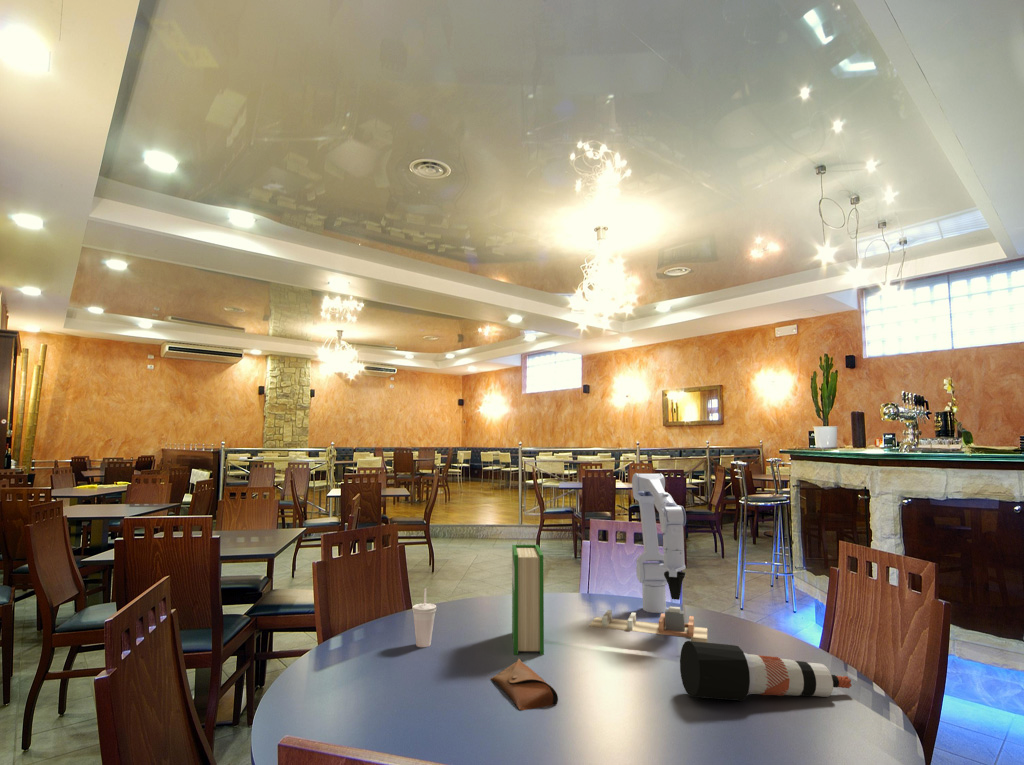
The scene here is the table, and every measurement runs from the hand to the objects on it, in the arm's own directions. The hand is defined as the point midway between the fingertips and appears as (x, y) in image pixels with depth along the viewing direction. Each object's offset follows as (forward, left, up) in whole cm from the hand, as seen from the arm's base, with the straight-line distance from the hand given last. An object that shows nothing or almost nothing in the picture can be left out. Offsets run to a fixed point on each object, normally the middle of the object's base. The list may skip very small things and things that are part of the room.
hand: (675, 598), depth 153 cm
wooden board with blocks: (0, -8, -9) cm, 12 cm away
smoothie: (+33, -62, -10) cm, 71 cm away
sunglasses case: (+51, -28, -10) cm, 59 cm away
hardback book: (+22, -37, -10) cm, 44 cm away
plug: (0, 0, -8) cm, 8 cm away
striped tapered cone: (+36, +20, -10) cm, 42 cm away
